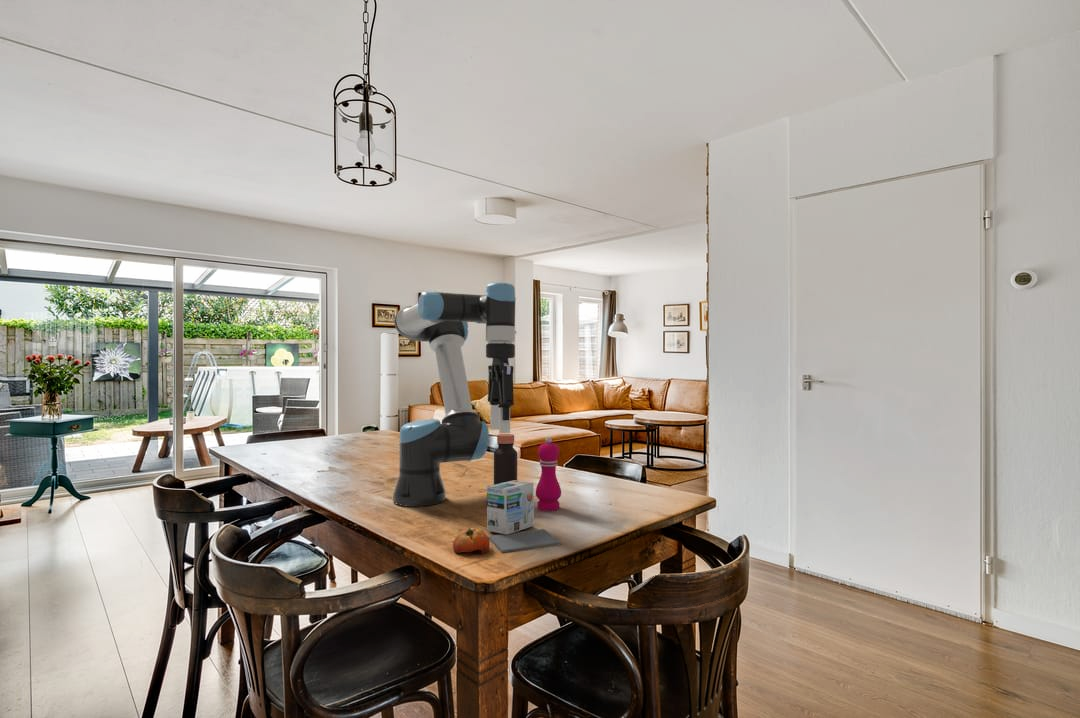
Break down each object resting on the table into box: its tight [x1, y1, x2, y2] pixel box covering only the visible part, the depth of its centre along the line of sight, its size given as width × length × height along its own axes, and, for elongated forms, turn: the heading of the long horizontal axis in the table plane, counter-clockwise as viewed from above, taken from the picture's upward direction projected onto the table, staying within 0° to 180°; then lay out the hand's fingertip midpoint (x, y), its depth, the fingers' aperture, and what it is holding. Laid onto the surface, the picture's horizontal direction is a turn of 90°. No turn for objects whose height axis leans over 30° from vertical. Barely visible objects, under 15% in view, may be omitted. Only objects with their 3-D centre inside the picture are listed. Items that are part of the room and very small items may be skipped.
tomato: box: [452, 527, 491, 555], centre depth 117 cm, size 8×7×7 cm
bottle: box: [493, 433, 518, 485], centre depth 153 cm, size 7×7×20 cm
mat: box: [487, 528, 562, 553], centre depth 122 cm, size 10×14×1 cm
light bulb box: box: [486, 480, 535, 535], centre depth 131 cm, size 11×7×11 cm, turn 142°
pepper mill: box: [535, 436, 562, 512], centre depth 149 cm, size 7×7×20 cm
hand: (500, 431), depth 139 cm, fingers open, 7 cm apart
